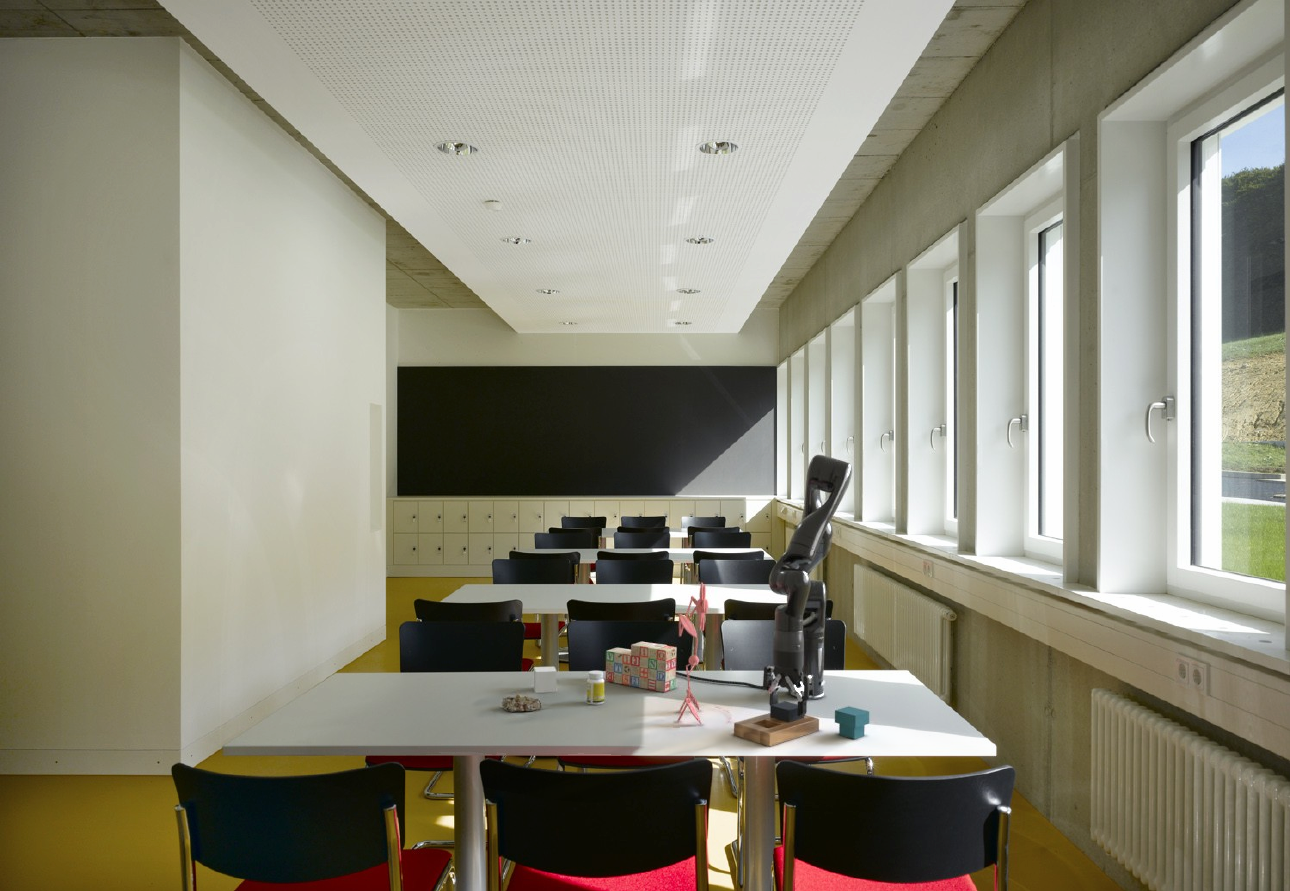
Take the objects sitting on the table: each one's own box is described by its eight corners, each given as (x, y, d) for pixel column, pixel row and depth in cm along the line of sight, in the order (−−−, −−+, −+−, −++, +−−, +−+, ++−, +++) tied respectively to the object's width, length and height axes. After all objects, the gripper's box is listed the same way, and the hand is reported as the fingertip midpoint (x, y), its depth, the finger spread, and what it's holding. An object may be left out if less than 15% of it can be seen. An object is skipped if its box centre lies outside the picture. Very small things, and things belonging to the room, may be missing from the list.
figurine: (672, 731, 213) (674, 589, 214) (677, 703, 239) (679, 576, 240) (734, 734, 212) (737, 591, 213) (733, 705, 237) (735, 578, 238)
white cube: (535, 693, 247) (535, 671, 247) (533, 687, 253) (534, 667, 253) (556, 692, 248) (556, 671, 248) (554, 686, 254) (554, 666, 254)
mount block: (733, 735, 211) (734, 722, 211) (783, 720, 225) (783, 708, 225) (769, 746, 203) (769, 733, 203) (819, 730, 216) (819, 718, 216)
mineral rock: (498, 703, 226) (505, 687, 234) (498, 718, 228) (505, 702, 235) (538, 706, 226) (544, 690, 234) (538, 721, 227) (544, 705, 235)
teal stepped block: (834, 734, 213) (834, 710, 213) (848, 730, 217) (848, 706, 217) (855, 740, 209) (855, 715, 209) (869, 735, 213) (869, 711, 213)
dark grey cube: (769, 729, 217) (770, 705, 217) (784, 724, 221) (785, 701, 221) (789, 734, 212) (789, 710, 213) (803, 730, 216) (804, 706, 217)
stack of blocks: (604, 681, 262) (605, 640, 262) (616, 677, 267) (617, 637, 267) (665, 692, 250) (666, 649, 250) (676, 688, 255) (676, 646, 256)
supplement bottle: (607, 702, 239) (607, 671, 239) (599, 706, 235) (599, 675, 235) (591, 699, 241) (592, 669, 241) (583, 703, 237) (584, 672, 237)
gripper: (820, 650, 214) (819, 716, 214) (775, 641, 225) (774, 703, 225) (802, 654, 209) (801, 721, 209) (757, 644, 220) (755, 708, 219)
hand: (787, 712), depth 217 cm, fingers open, 8 cm apart
